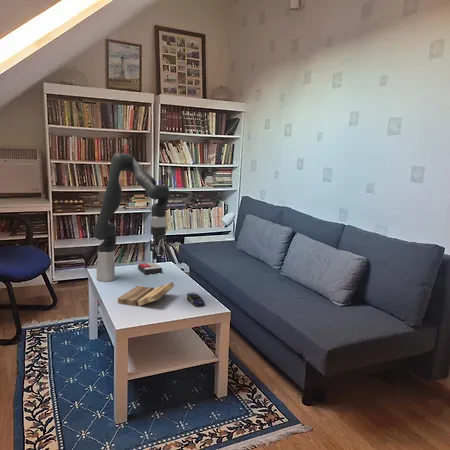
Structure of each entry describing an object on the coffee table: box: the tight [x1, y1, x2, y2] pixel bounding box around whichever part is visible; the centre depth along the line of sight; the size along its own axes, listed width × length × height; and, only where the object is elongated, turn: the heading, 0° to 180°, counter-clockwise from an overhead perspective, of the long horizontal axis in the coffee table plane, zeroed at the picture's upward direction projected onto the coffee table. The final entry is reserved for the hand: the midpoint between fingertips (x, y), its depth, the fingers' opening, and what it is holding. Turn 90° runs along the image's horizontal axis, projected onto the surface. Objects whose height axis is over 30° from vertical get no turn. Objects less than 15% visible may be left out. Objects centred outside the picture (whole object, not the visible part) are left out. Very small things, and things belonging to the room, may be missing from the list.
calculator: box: [137, 262, 163, 276], centre depth 251 cm, size 11×4×15 cm
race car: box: [186, 291, 206, 308], centre depth 201 cm, size 15×7×4 cm, turn 35°
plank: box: [137, 282, 175, 306], centre depth 201 cm, size 11×20×3 cm, turn 165°
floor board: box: [117, 285, 155, 307], centre depth 204 cm, size 10×20×3 cm, turn 164°
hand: (158, 257), depth 201 cm, fingers open, 7 cm apart
